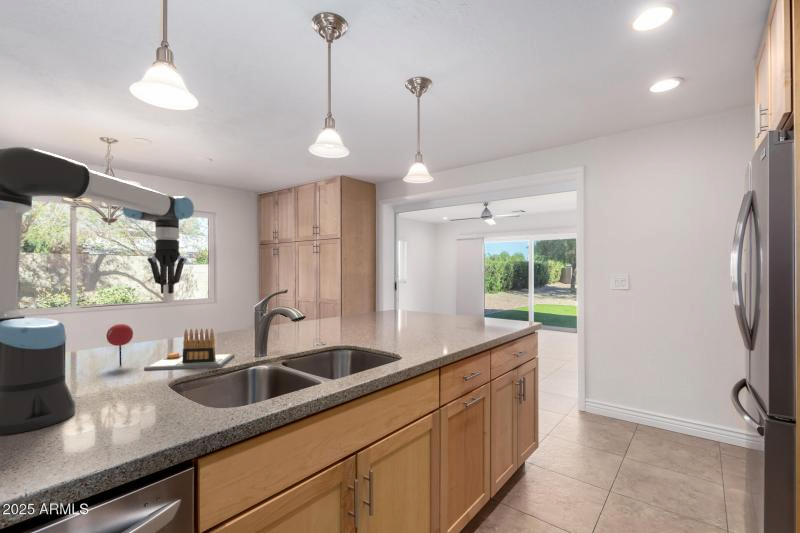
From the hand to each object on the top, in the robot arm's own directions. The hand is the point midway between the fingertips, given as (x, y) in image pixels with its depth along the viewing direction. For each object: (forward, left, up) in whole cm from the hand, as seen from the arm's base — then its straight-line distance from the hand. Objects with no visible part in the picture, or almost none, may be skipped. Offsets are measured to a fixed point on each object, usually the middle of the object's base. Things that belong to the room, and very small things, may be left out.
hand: (167, 302), depth 139 cm
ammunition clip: (-7, -14, -21) cm, 26 cm away
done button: (+2, -1, -21) cm, 21 cm away
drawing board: (-3, -10, -23) cm, 25 cm away
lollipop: (-3, +15, -23) cm, 27 cm away
